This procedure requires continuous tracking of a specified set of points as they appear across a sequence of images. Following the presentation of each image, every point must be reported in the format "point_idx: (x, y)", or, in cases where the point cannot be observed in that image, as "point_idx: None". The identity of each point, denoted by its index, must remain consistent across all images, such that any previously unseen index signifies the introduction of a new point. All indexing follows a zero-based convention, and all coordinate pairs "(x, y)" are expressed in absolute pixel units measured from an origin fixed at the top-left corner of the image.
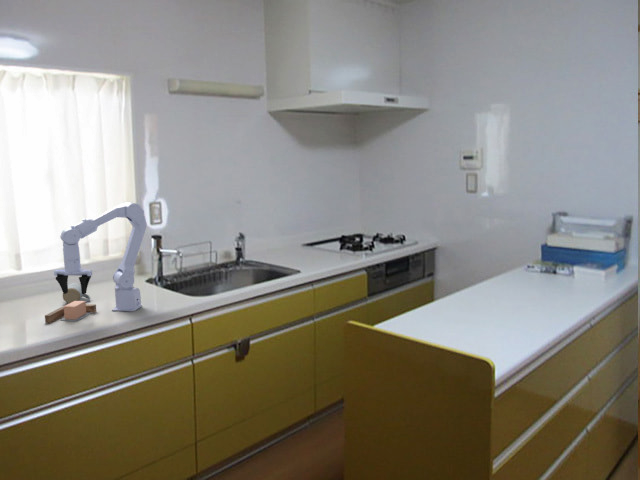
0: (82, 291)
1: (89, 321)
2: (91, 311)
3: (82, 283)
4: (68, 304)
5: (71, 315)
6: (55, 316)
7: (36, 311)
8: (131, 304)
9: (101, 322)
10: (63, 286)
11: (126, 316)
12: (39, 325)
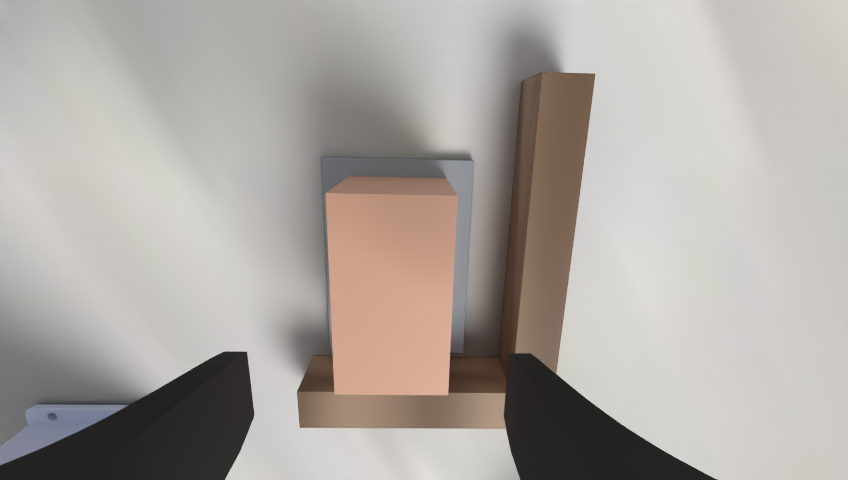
0: (207, 367)
1: (220, 152)
2: (329, 362)
3: (44, 464)
4: (443, 272)
5: (381, 180)
6: (523, 167)
7: (762, 366)
8: (15, 455)
9: (101, 131)
10: (555, 426)
11: (8, 294)
12: (589, 16)
